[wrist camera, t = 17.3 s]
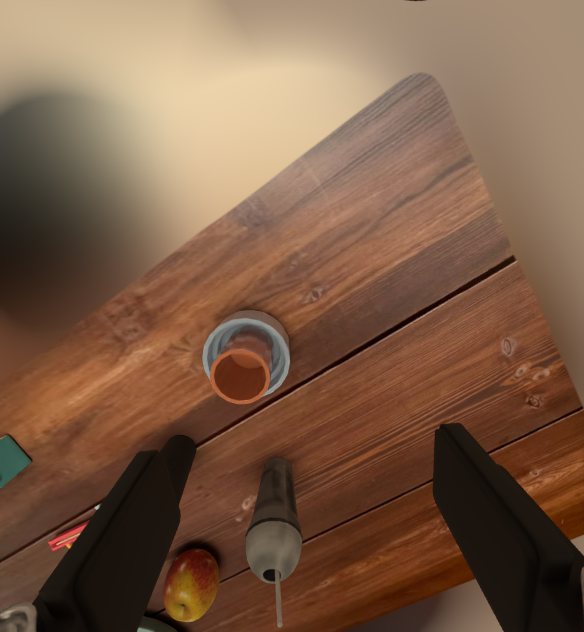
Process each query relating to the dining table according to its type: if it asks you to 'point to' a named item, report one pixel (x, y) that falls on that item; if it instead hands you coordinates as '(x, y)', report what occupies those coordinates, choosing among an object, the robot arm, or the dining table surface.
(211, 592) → the fruit
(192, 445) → the drinking cup
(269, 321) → the bowl
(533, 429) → the dining table surface
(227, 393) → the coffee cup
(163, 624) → the green plate
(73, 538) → the orange long tool
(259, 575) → the beverage cup
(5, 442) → the game box
